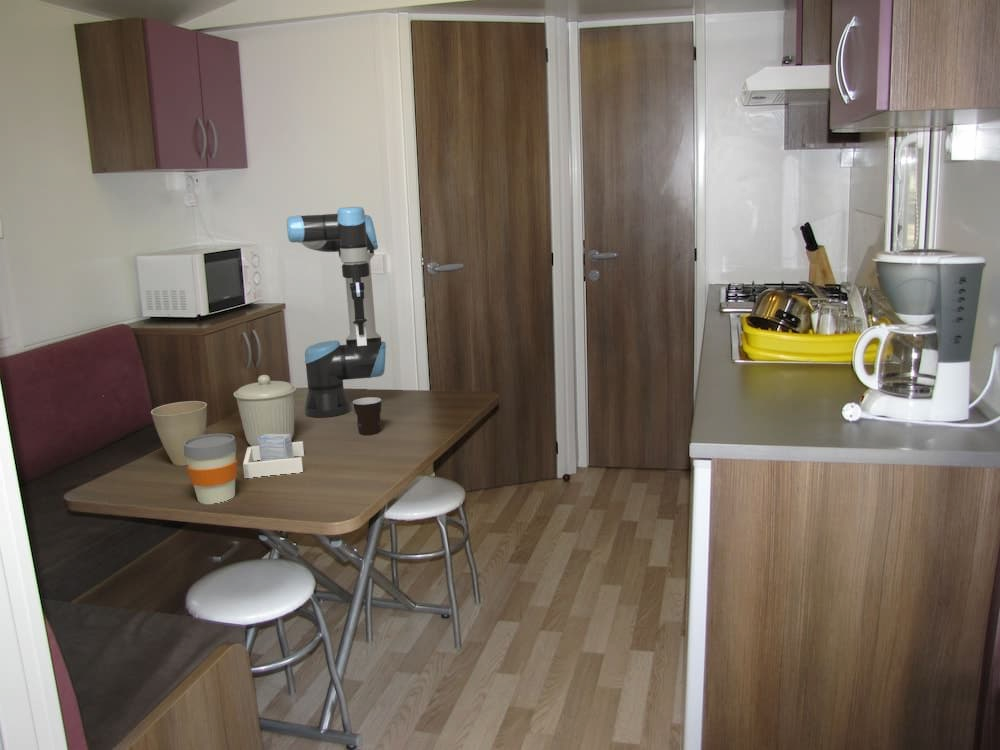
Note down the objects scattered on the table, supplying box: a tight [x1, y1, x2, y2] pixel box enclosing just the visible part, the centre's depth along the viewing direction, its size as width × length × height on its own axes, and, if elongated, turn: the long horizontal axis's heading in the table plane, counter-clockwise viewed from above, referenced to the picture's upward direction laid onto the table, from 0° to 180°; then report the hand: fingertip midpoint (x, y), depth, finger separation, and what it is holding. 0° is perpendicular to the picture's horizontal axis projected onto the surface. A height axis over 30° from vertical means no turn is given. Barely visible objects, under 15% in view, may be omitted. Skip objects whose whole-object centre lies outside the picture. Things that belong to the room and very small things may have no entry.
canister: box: [233, 374, 297, 447], centre depth 269 cm, size 18×18×21 cm
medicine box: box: [258, 434, 294, 461], centre depth 250 cm, size 8×4×9 cm, turn 77°
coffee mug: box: [352, 396, 382, 436], centre depth 279 cm, size 12×9×10 cm
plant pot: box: [150, 400, 208, 467], centre depth 256 cm, size 15×15×16 cm
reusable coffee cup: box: [184, 432, 238, 505], centre depth 226 cm, size 13×13×15 cm
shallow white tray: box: [242, 440, 305, 479], centre depth 250 cm, size 16×15×4 cm
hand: (362, 345), depth 261 cm, fingers closed
